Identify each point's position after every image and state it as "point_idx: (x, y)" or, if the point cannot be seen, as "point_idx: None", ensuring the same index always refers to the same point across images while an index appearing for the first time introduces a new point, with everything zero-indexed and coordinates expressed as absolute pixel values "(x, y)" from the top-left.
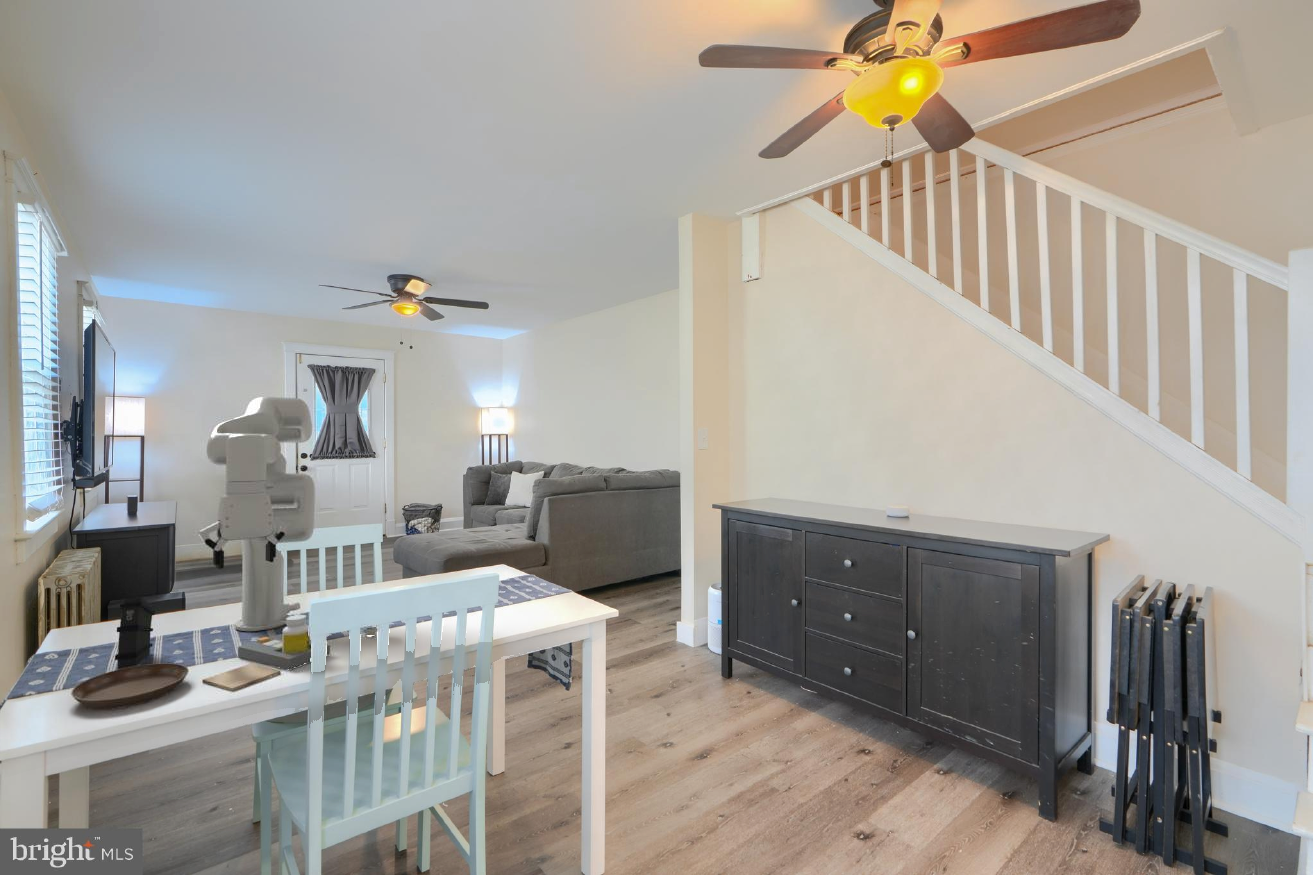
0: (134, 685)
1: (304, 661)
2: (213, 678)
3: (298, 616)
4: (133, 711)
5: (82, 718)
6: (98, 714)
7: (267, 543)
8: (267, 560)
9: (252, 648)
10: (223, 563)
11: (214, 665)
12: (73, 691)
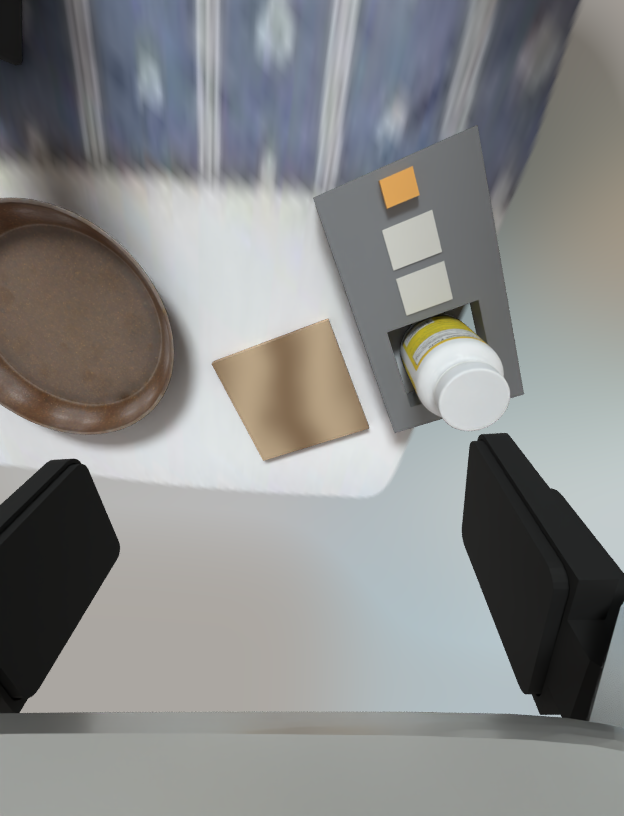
0: (65, 281)
1: None
2: (234, 373)
3: (485, 394)
4: (100, 435)
5: None
6: None
7: (586, 590)
8: (467, 488)
9: (345, 259)
10: (101, 581)
11: (246, 233)
12: None
